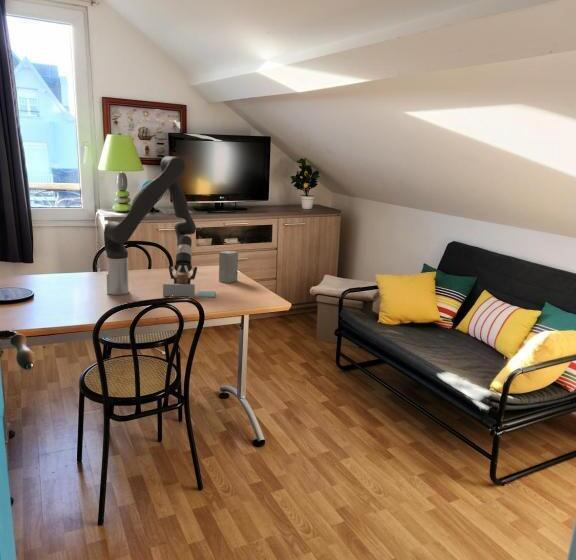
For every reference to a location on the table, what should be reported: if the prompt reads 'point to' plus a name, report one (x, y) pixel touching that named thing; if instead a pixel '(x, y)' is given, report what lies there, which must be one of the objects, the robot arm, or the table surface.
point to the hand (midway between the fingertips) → (182, 286)
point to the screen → (179, 290)
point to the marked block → (182, 278)
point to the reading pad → (206, 294)
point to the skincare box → (228, 266)
